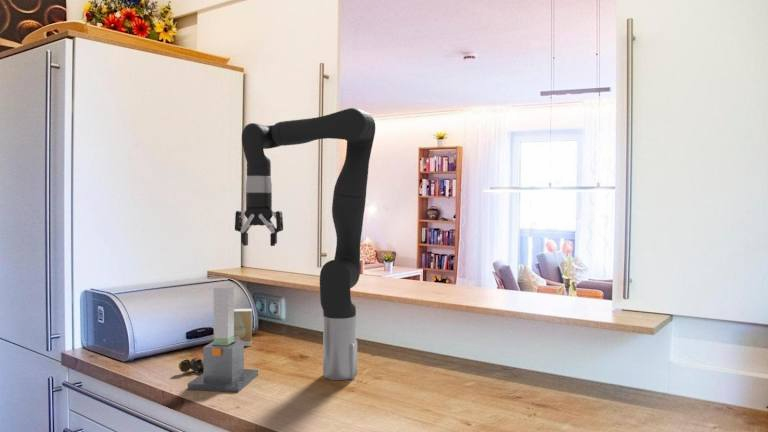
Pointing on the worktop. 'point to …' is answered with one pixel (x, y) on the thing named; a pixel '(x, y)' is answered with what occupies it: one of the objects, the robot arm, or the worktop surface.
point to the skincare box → (243, 325)
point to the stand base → (223, 369)
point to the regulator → (192, 365)
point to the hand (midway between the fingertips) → (259, 245)
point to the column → (224, 316)
